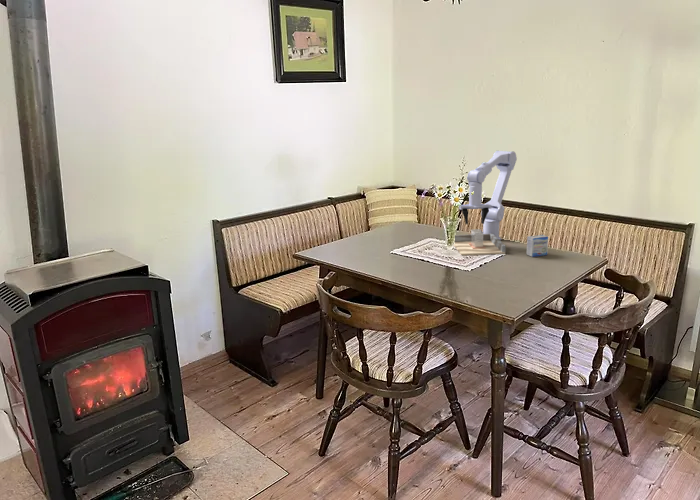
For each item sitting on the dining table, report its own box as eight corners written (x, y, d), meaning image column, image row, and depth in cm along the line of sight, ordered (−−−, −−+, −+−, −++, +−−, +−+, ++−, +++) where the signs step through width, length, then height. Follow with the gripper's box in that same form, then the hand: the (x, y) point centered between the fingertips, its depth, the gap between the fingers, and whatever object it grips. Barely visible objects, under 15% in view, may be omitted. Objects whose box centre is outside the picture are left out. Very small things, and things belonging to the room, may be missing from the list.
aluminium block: (474, 247, 254) (474, 233, 252) (471, 243, 261) (471, 229, 259) (483, 247, 254) (483, 232, 252) (479, 243, 261) (479, 229, 259)
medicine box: (531, 257, 239) (532, 238, 237) (526, 254, 244) (527, 236, 241) (547, 255, 241) (548, 236, 239) (541, 252, 246) (542, 234, 243)
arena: (451, 242, 267) (451, 235, 266) (492, 240, 267) (492, 233, 266) (461, 255, 246) (461, 247, 245) (505, 253, 246) (505, 245, 245)
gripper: (461, 197, 252) (461, 226, 256) (493, 196, 252) (491, 225, 256) (458, 195, 259) (458, 222, 262) (489, 194, 259) (488, 221, 262)
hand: (474, 223), depth 259 cm, fingers open, 7 cm apart
